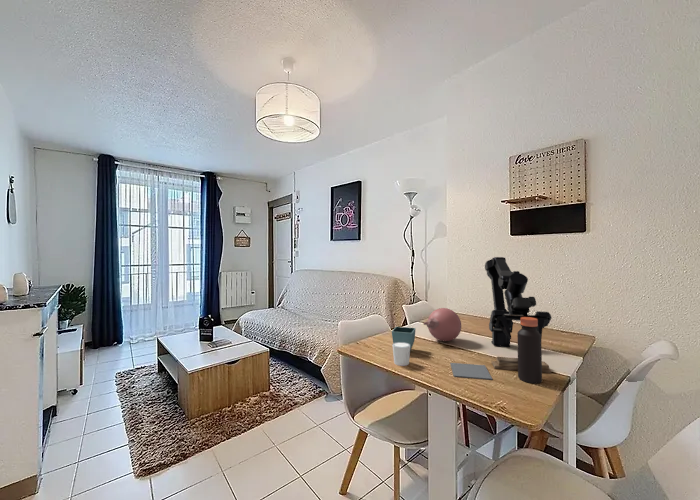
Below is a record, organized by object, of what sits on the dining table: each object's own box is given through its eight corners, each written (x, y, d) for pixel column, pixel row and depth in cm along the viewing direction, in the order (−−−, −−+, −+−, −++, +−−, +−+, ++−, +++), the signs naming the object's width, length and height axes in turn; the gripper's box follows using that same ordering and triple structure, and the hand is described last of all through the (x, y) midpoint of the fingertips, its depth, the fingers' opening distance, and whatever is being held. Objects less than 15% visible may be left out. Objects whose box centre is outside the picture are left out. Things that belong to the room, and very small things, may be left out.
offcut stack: (494, 368, 107) (494, 360, 107) (491, 363, 112) (491, 355, 112) (551, 372, 103) (551, 364, 103) (545, 367, 108) (545, 359, 108)
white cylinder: (411, 360, 116) (411, 342, 116) (409, 367, 109) (409, 348, 109) (394, 359, 118) (394, 341, 118) (390, 365, 112) (390, 346, 112)
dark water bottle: (546, 380, 97) (545, 319, 97) (535, 385, 93) (534, 321, 93) (524, 373, 103) (523, 315, 103) (513, 378, 99) (512, 317, 99)
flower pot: (391, 352, 126) (391, 331, 126) (396, 346, 134) (396, 326, 134) (412, 355, 122) (412, 333, 123) (416, 348, 131) (415, 328, 131)
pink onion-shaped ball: (413, 339, 144) (412, 307, 144) (446, 334, 152) (445, 304, 152) (433, 348, 130) (433, 313, 130) (468, 343, 138) (468, 309, 138)
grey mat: (453, 376, 101) (453, 375, 101) (450, 363, 112) (450, 362, 112) (492, 379, 98) (492, 378, 98) (484, 366, 109) (484, 365, 109)
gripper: (491, 287, 109) (499, 324, 99) (548, 288, 105) (563, 327, 94) (487, 305, 117) (494, 342, 106) (540, 307, 113) (553, 345, 102)
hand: (525, 339), depth 102 cm, fingers open, 9 cm apart
